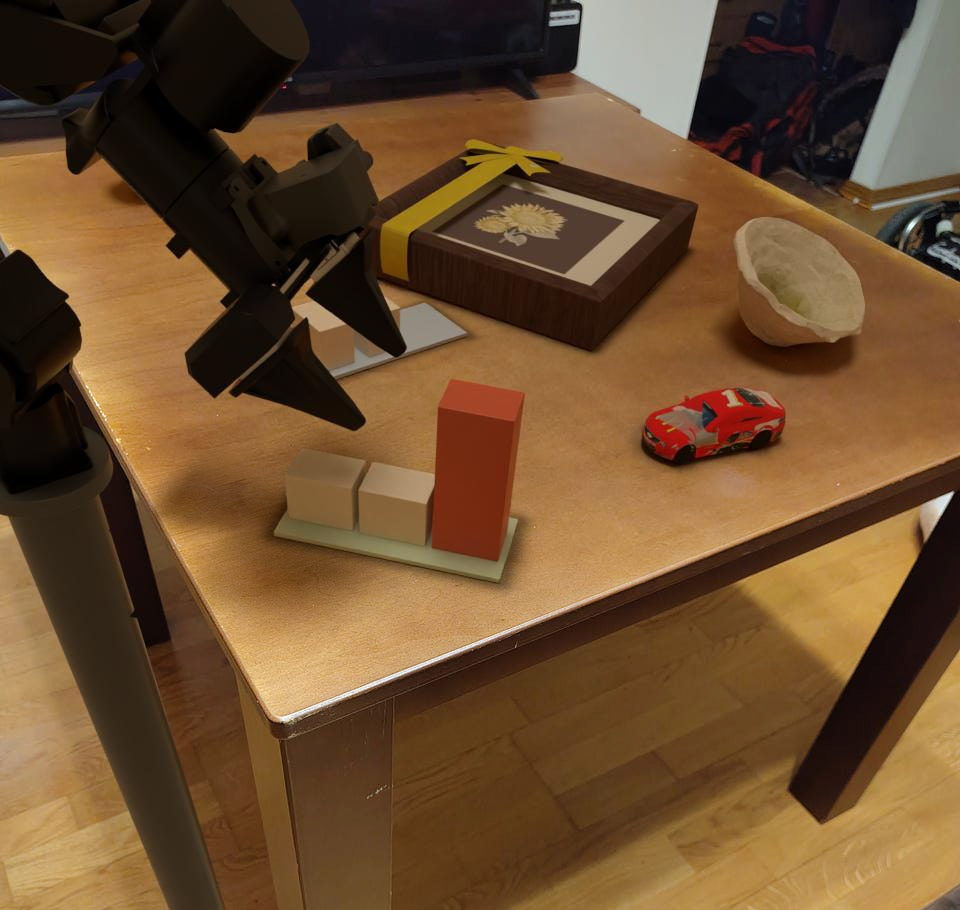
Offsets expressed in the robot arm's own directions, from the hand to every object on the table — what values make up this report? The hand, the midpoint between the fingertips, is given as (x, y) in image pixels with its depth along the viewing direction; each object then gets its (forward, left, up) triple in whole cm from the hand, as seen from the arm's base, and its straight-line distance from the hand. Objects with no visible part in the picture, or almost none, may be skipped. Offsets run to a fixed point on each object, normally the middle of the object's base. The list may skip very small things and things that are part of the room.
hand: (382, 388), depth 58 cm
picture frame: (+39, +29, -12) cm, 50 cm away
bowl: (+50, +2, -12) cm, 52 cm away
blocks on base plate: (+15, +23, -12) cm, 29 cm away
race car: (+30, -6, -12) cm, 33 cm away
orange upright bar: (+4, -5, -11) cm, 13 cm away
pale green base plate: (+1, -1, -12) cm, 12 cm away
